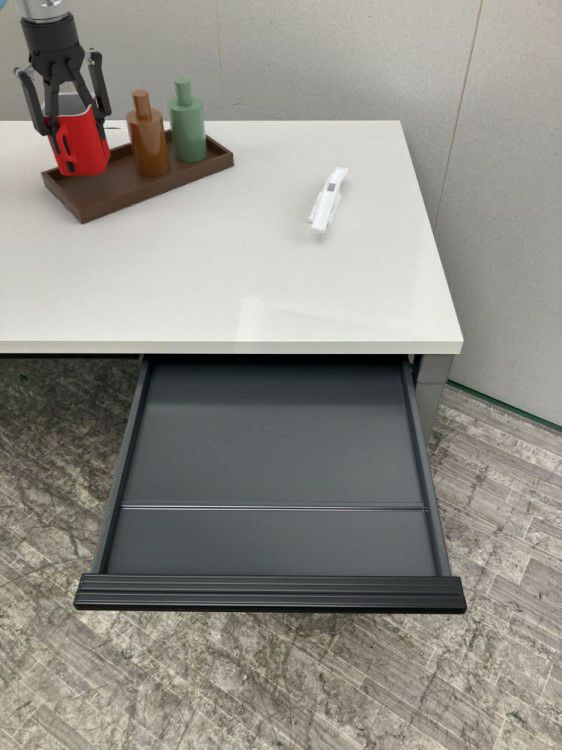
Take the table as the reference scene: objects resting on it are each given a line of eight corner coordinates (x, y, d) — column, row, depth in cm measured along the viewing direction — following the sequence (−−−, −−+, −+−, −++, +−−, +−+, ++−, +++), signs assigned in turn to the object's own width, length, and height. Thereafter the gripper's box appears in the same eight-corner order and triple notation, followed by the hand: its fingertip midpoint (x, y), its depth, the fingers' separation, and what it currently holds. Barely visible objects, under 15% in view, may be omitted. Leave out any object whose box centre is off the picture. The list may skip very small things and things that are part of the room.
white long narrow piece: (299, 240, 98) (300, 212, 94) (326, 178, 111) (328, 151, 107) (323, 244, 97) (325, 216, 93) (347, 182, 110) (350, 154, 106)
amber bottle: (146, 180, 109) (132, 104, 98) (129, 166, 112) (114, 91, 102) (176, 169, 111) (165, 94, 101) (158, 156, 115) (146, 81, 104)
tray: (82, 224, 101) (78, 211, 99) (44, 185, 109) (40, 172, 107) (234, 165, 114) (233, 153, 112) (190, 134, 122) (189, 122, 120)
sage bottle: (185, 166, 112) (176, 91, 102) (168, 152, 116) (157, 78, 105) (213, 155, 115) (207, 81, 104) (195, 142, 118) (187, 69, 108)
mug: (69, 152, 107) (49, 93, 99) (114, 151, 107) (97, 91, 99) (50, 189, 100) (27, 128, 91) (99, 188, 99) (79, 127, 91)
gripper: (-7, 36, 80) (44, 190, 97) (115, 8, 87) (142, 156, 105) (-27, 20, 83) (26, 171, 101) (92, -6, 91) (122, 139, 108)
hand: (85, 163), depth 103 cm, fingers open, 5 cm apart
